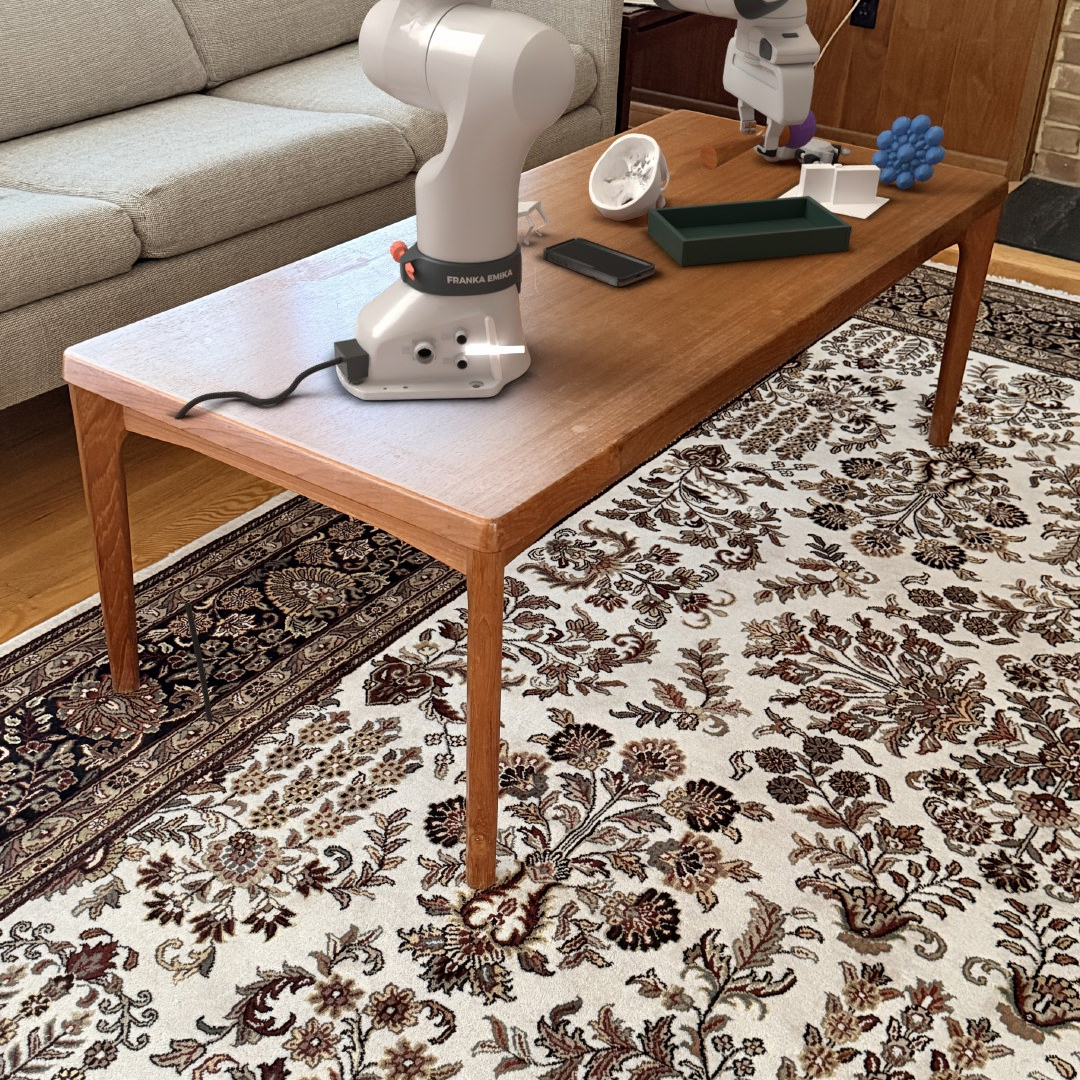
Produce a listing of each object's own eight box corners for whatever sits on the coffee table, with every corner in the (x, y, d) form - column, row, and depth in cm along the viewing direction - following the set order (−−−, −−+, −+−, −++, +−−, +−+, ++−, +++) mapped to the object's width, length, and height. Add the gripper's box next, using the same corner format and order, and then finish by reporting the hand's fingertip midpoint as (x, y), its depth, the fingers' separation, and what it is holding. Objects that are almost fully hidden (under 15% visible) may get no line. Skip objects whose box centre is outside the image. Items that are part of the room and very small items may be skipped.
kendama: (690, 134, 165) (791, 99, 175) (695, 178, 168) (794, 141, 178) (722, 135, 161) (823, 99, 170) (726, 181, 164) (826, 143, 173)
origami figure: (504, 224, 182) (504, 191, 179) (552, 235, 178) (553, 202, 175) (457, 248, 173) (456, 214, 171) (507, 261, 170) (507, 226, 167)
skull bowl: (692, 192, 191) (677, 134, 180) (650, 261, 187) (632, 206, 176) (634, 178, 195) (616, 122, 185) (592, 245, 192) (571, 191, 181)
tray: (681, 266, 169) (683, 241, 167) (647, 232, 180) (648, 208, 178) (848, 250, 175) (852, 226, 173) (805, 219, 186) (809, 195, 184)
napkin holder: (890, 198, 194) (896, 162, 191) (865, 219, 186) (872, 181, 183) (801, 181, 201) (806, 146, 198) (774, 200, 193) (778, 164, 190)
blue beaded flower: (946, 189, 199) (962, 114, 192) (930, 200, 194) (946, 123, 187) (878, 175, 204) (891, 101, 198) (862, 185, 200) (874, 110, 193)
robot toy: (851, 168, 210) (776, 144, 217) (857, 141, 207) (781, 118, 214) (816, 185, 202) (739, 159, 209) (822, 158, 199) (744, 133, 206)
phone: (578, 236, 175) (658, 265, 166) (577, 244, 175) (658, 272, 166) (539, 249, 170) (619, 280, 161) (538, 257, 170) (619, 288, 162)
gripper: (717, 19, 169) (708, 121, 177) (781, 53, 153) (768, 164, 161) (759, 17, 170) (748, 119, 178) (826, 51, 154) (811, 160, 162)
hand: (758, 140), depth 169 cm, fingers closed on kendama, 6 cm apart
